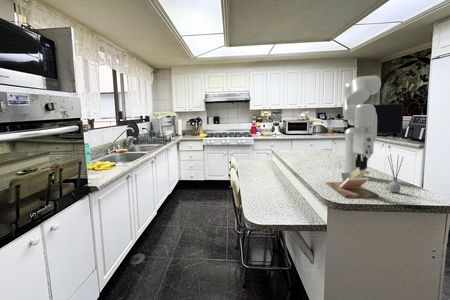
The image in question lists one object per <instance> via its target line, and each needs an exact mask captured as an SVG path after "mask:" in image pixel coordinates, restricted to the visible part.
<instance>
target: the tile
mask: <svg viewBox="0 0 450 300" xmlns="http://www.w3.org/2000/svg"><path fill="white" fill-rule="evenodd" d="M369 180H370V178H369V177H363V178H347V179H346V180H345V181H344V182H343V181H342V182H343V183H342V184H341V185H340V188H357V187H360V186H363V185H364V184H365V183H366V182H367V181H369Z"/></svg>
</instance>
